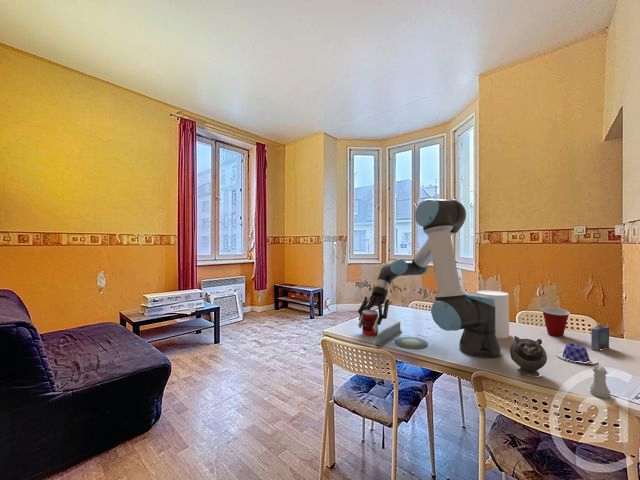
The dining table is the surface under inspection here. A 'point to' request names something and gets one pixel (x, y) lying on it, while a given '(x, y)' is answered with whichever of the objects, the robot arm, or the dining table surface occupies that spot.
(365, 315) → the canned food
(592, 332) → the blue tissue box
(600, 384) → the rook chess piece
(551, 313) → the plastic cup
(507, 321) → the canister
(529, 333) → the dining table surface
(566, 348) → the checkered hat
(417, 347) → the resting mat
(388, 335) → the plastic divider
